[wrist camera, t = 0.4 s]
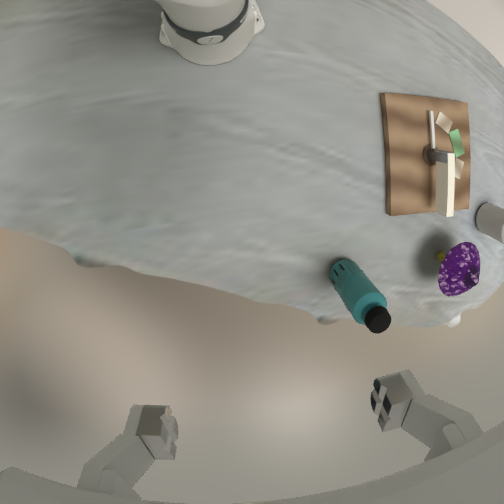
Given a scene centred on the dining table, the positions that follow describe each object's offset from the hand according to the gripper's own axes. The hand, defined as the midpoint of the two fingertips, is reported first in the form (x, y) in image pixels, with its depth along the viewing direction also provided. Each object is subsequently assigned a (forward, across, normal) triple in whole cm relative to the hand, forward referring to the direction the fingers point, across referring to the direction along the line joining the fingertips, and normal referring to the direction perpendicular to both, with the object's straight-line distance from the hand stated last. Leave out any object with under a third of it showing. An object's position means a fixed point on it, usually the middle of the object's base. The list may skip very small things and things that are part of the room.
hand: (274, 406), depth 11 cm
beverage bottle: (+47, -18, +18) cm, 53 cm away
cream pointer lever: (+44, -38, -4) cm, 59 cm away
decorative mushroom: (+47, -43, +18) cm, 66 cm away
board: (+47, -38, -5) cm, 60 cm away
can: (+47, -58, +10) cm, 75 cm away
